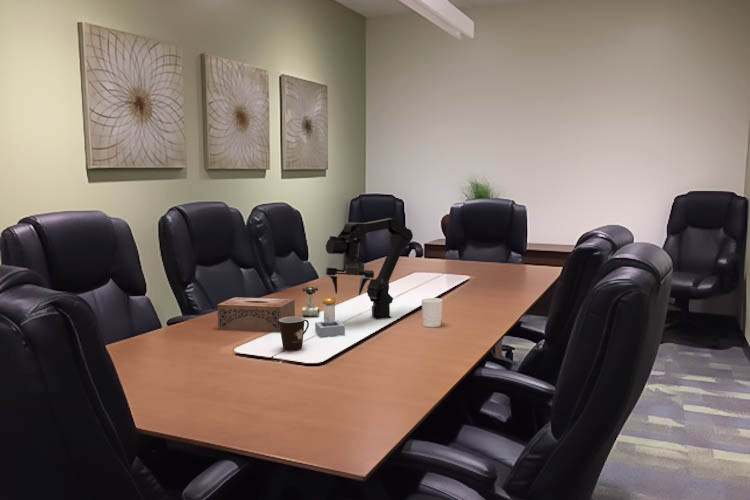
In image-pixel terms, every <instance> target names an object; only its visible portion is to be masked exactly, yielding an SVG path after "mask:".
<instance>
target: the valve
mask: <svg viewBox="0 0 750 500" xmlns="http://www.w3.org/2000/svg"><path fill="white" fill-rule="evenodd" d="M302 291H303V293H304V292H305V293H306V295H308V297H307V298H308V299H307V300H308V302H307V303H306V306H303V307H302V309H301V315H302V316H303V317H319V316H320V307H318V306H316V307H315V302H314V301H313V298H314V297H313V296H312V295H313V294H315V293H316V292H317V291H319V288H318V287H317V286H315V287H314V286H310V287H309V286H306V287H302Z"/></svg>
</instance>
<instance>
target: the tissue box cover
mask: <svg viewBox="0 0 750 500" xmlns="http://www.w3.org/2000/svg"><path fill="white" fill-rule="evenodd" d="M216 305H217V324H218V325H217V327H218V330H219V331H221V330H222V331H223V330H224V331H242V332H243V331H244V332H261V333H262V332H266V333H267V332H268V333H281V331H280V325H279V319H281V318H285V317H296V314H295V313H296V311H295V309H296V308H295V299H294V298H293V299H292V298H269V297H267V298H263V297H262V298H261V297H236V296H235V297H232V298H230V299H227V300H225V301H222V302H220V303H218V304H216Z"/></svg>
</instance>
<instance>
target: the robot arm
mask: <svg viewBox="0 0 750 500" xmlns="http://www.w3.org/2000/svg"><path fill="white" fill-rule="evenodd" d="M386 229H387V232H388V233H389V234H390V236H391V238H390V242H391V243H390V245H391V246H390V248H389V250H388V253H387V255H386V257H385V259H384V261H383V264H382V266H381V269H380V271H379V273H378V275H377V277H376V278H375V272H374V270H373V269H365V263H364V262H359V252H360V251H359V250H360V245H364V244H365V241H363V239H362V237H364V236H366V235H367V234H369V233H372V232H376V231H377V232H378V231H383V230H386ZM413 236H414V234H413V232H412V230H411V229H410V228H407V227H406V226H405V225H403V224H402V223H400V222H399V221H398V220H397V219H395V218H394V217H392V218H391V217H386V218H383V219H378V220H372V221H367V222H346V223H345V224H344V227H343V229H342V230H341V232H340V233H339V234H338V235H337V236H334V235H330V236H329V239H328V240H327V242H326V244H325V250H326V253H327V254H330V255H331V254H332V255H343V258H342V259H343V261H342V269H340V268H339V269H338V268H337V267H335V266H334V267H333V266H326V267H325V270H324V274H325V275H326V276H327V277H329V278H330V279H331V282H332V285H333V288H334V292H335V294H336V295H337V294H338V276H337V275H347V276H360V281H359V287H358V295H359V296H361V294H362V291H363V289H364V287H365V285H366V283H367V282H368V281H369V283H368V285H367V286H366V288H367V290H366V293H367V296H368V297H369V301H370V302H372V305H371V317H372V318H374V319H376V320H380V319H382V318H383V319H392V316H391V312H390V311H391V308H390V307H391V305H390V304H392V303H393V299H394V298H393V296H392V295H390V294H389V290H390V284H389V283H390V279H391V278H392V275H393V273H394V271H395V268H396V266H397V264H398V261H399V259H400V257H401V254H402V252H403V251H404V249H406V248H407V247H408V246H409V244H410V243H411V241H412V239H413Z"/></svg>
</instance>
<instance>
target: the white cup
mask: <svg viewBox="0 0 750 500" xmlns="http://www.w3.org/2000/svg"><path fill="white" fill-rule="evenodd" d="M421 311H422V312H421V313H422V314H421V315H422V325H423V327H426V328H438V327H441V325H442V324H441V323H442V313H443V312H442V311H443V299H442V298H438V297H426V298H422V299H421Z"/></svg>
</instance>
